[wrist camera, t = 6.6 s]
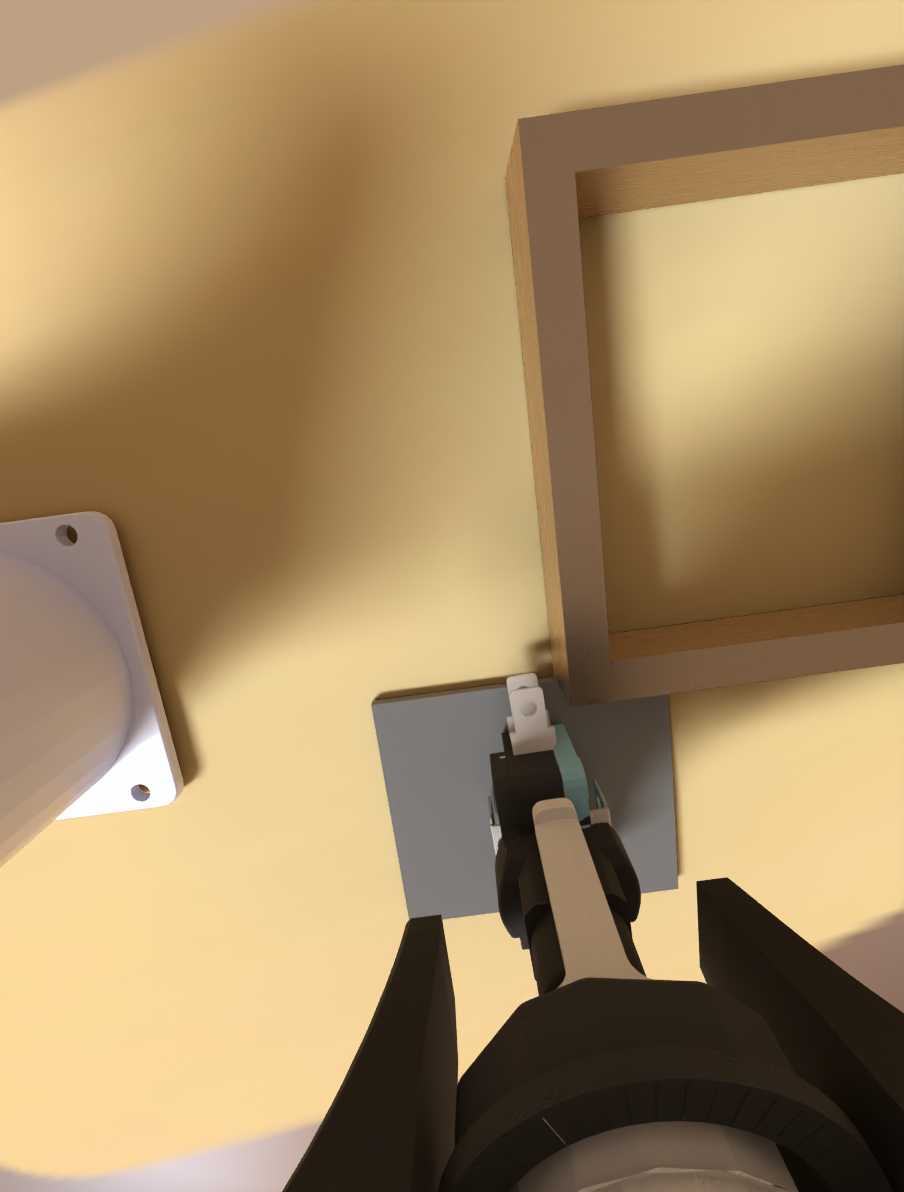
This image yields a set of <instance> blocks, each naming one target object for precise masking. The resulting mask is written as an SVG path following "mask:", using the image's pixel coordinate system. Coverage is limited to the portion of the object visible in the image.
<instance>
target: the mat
mask: <svg viewBox="0 0 904 1192" xmlns="http://www.w3.org/2000/svg"><path fill="white" fill-rule="evenodd" d="M538 686H539V687H541V688H542V690H543V696H544V703H545V709H546V710H548V713H549V719H550V725H554V724H561V723H563V724H564V726H565V729H566V731H567V733H568V736H569V738H570V740H571V743H572V745H573V747H574V750H575V752H576V754H577V757H579V758H580V760H581V762H582V765H583V768H584V771H585V775H586V780H587V786H588V793H589V798H588V804H589V810H596V809H597V808H596V803H595V795H594V788H593V780H597V782H598V784H599V787H600V789H601V791H602V793H603V795H604V797H605V800H606V802H607V806H609V811H610V819H611V826H612V828H613V829H614V830H615V831H616V833H617V834H618V836H619V837H620V839H621V841H622V843H623V846H624V848H625V850H626V852H627V854H628V857H629V859H630V861H631V863H632V865H633V868H634V870H635V872H636V875H637V877H638V880H639V885H640V890H641V893H648V892H656V891H664V890H671V889H678V871H677V850H676V830H675V809H674V789H673V768H672V748H671V727H670V706H669V694H665V695H657V696H650V697H642V698H635V699H627V700H620V701H612V702H604V703H597V704H589V705H582V706H574V707H571V705H570V703H569V702H568V700H567V698H566V697H565V695H564V693H563V691H562V690H561V688H560V686H559V685H558V683H557V681H556V679H555V678H554V677H546V678H539V679H538ZM522 688H528V687H527V686H521V687H519V688H518V689H522ZM371 706H372V712H373V717H374V723H375V729H376V734H377V740H378V745H379V751H380V757H381V762H382V768H383V774H384V779H385V785H386V791H387V796H388V802H389V807H390V813H391V819H392V824H393V830H394V836H395V841H396V847H397V853H398V858H399V864H400V870H401V875H402V881H403V886H404V892H405V898H406V903H407V909H408V915H409V920H410V919H411V918H417V917H425V916H433V915H440V914H441V916H442V919H449V918H457V917H464V916H472V915H480V914H487V913H495V912H499V907H498V896H497V886H496V875H495V858H496V853H495V848H494V843H493V837H492V832H491V826H490V824H491V823H490V817H489V806H488V796H491V801H492V806H493V812H494V817H495V823H496V824H500V823H499V817H498V812H497V806H496V801H495V795H494V789H493V782H492V774H491V765H490V756H489V755H490V754H492V753H498V752H504V747H503V741H502V735H501V733H505V732H509V729H508V723H507V717H506V716H512V712H511V706H510V700H509V694H508V688H507V683H501V684H494V685H486V686H479V687H471V688H464V689H456V690H449V691H441V692H434V693H426V694H419V695H411V696H404V697H396V698H389V699H381V700H374V701H372V705H371Z"/></svg>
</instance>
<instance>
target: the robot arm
mask: <svg viewBox="0 0 904 1192" xmlns="http://www.w3.org/2000/svg"><path fill="white" fill-rule="evenodd" d="M69 525H70V526H71V527H73V528H74V529H75V531H76V532H77V539H78V540H77V541H76V543H75V544H74V543H73V542H71V541H70V540H69V538H68V537H67V528H68V527H69ZM139 784H143V785H145V786H146V787H148V788H149V790H150V793H145V792H144V791H142V790H141V789H140V787H139ZM183 787H184V786H183V778H182V774H181V771H180V767H179V763H178V759H177V756H176V752H175V748H174V744H173V741H172V737H171V733H170V729H169V726H168V722H167V718H166V714H165V711H164V707H163V703H162V699H161V696H160V692H159V688H158V685H157V681H156V677H155V673H154V670H153V666H152V662H151V658H150V655H149V651H148V647H147V643H146V640H145V636H144V632H143V628H142V625H141V621H140V617H139V613H138V610H137V606H136V602H135V598H134V595H133V591H132V587H131V584H130V580H129V576H128V572H127V569H126V565H125V561H124V557H123V554H122V550H121V546H120V542H119V539H118V535H117V531H116V528H115V526H114V524H113V522H112V520H111V519H110V518H109V517H108V516H107V515H105V514H103V513H100V512H96V511H86V512H77V513H70V514H63V515H55V516H48V517H41V518H33V519H26V520H19V521H11V522H4V523H0V867H1V866H3V865H4V864H5V863H6V862H7V861H8V860H9V859H11V858H12V857H13V856H14V855H15V854H16V853H17V852H19V851H20V850H21V849H22V848H23V847H24V846H25V845H27V844H28V843H29V842H30V841H31V840H32V839H33V838H34V837H36V836H37V835H38V834H39V833H40V832H41V831H42V830H44V829H45V828H46V827H47V826H48V825H49V824H50V823H52V822H53V821H54V820H61V819H69V818H76V817H84V816H91V815H99V814H106V813H114V812H121V811H129V810H137V809H144V808H152V807H159V806H165V805H168V804H171V803H172V802H173V801H175V800H176V799H177V797H178V796H179V795H180V794H181V792H182V790H183ZM697 906H698V931H699V955H700V968H701V970H702V973H703V975H704V978H705V980H706V982H707V985H709V986H711V987H713V988H715V989H716V990H718V991H720V992H722V993H724V994H725V995H727V996H729V997H731V998H733V999H735V1000H736V1001H738V1002H740V1003H742V1004H744V1005H745V1006H747V1007H749V1008H751V1009H753V1010H754V1011H756V1012H757V1013H759V1014H760V1015H761V1016H762V1017H763V1018H764V1020H765V1021H766V1023H767V1025H768V1026H769V1028H770V1030H771V1032H772V1033H773V1035H774V1037H775V1039H776V1040H777V1042H778V1044H779V1046H780V1048H781V1049H782V1051H783V1053H784V1055H785V1056H786V1058H787V1060H788V1062H789V1063H790V1065H791V1067H792V1069H793V1070H794V1072H795V1074H796V1076H798V1077H800V1078H802V1079H803V1080H805V1081H806V1082H808V1083H809V1084H811V1085H812V1086H814V1087H816V1088H817V1089H819V1090H820V1091H821V1092H822V1093H823V1094H825V1095H826V1096H827V1097H828V1098H830V1099H831V1100H832V1101H833V1102H834V1103H835V1104H836V1105H837V1106H838V1107H839V1108H840V1109H841V1110H842V1111H843V1112H844V1113H845V1114H846V1115H847V1116H848V1117H849V1119H850V1120H851V1122H852V1123H853V1124H854V1126H855V1127H856V1128H857V1130H858V1131H859V1133H860V1134H861V1136H862V1138H863V1139H864V1141H865V1142H866V1144H867V1146H868V1147H869V1149H870V1151H871V1152H872V1154H873V1155H874V1157H875V1159H876V1160H877V1162H878V1164H879V1165H880V1167H881V1168H882V1170H883V1172H884V1174H885V1176H886V1178H887V1180H888V1182H889V1184H890V1185H891V1188H892V1191H893V1192H904V1013H902V1012H901V1011H900V1010H898V1009H897V1008H895V1007H894V1006H893V1005H891V1004H890V1003H888V1002H887V1001H885V1000H884V999H883V998H881V997H880V996H878V995H877V994H876V993H874V992H872V991H871V990H870V989H868V988H867V987H865V986H864V985H863V984H862V983H860V982H859V981H858V980H856V979H855V978H854V977H852V976H851V975H850V974H848V973H847V972H846V971H844V970H843V969H842V968H840V967H839V966H838V965H837V964H835V963H834V962H833V961H831V960H830V959H829V958H827V957H826V956H825V955H823V954H822V953H821V952H820V951H818V950H817V949H816V948H814V947H813V946H812V945H810V944H809V943H808V942H807V941H805V940H804V939H803V938H802V937H800V936H799V935H798V934H797V933H795V932H794V931H793V930H792V929H790V928H789V927H788V926H787V925H785V924H784V923H783V922H782V921H780V920H779V919H778V918H777V917H775V916H774V915H773V914H772V913H771V912H769V911H768V910H767V909H766V908H764V907H763V906H762V905H761V904H760V903H758V902H757V901H756V900H755V899H753V898H752V897H751V896H750V895H748V894H747V893H746V892H745V891H744V890H742V889H741V888H740V887H739V886H737V885H736V884H735V883H734V882H732V881H731V880H730V879H729V878H719V879H711V880H704V881H697ZM457 1082H458V1051H457V1030H456V1012H455V997H454V991H453V984H452V978H451V972H450V966H449V960H448V953H447V947H446V941H445V935H444V929H443V922H442V916H441V914H440V915H433V916H425V917H417V918H411V919H410V920H409V921H408V922H407V924H406V926H405V930H404V934H403V937H402V940H401V944H400V947H399V950H398V953H397V956H396V959H395V962H394V965H393V967H392V970H391V973H390V975H389V978H388V981H387V983H386V986H385V989H384V991H383V993H382V996H381V998H380V1001H379V1003H378V1006H377V1008H376V1011H375V1013H374V1015H373V1018H372V1020H371V1023H370V1025H369V1027H368V1030H367V1032H366V1034H365V1036H364V1039H363V1041H362V1043H361V1045H360V1047H359V1049H358V1051H357V1053H356V1056H355V1058H354V1060H353V1062H352V1064H351V1066H350V1068H349V1070H348V1073H347V1075H346V1077H345V1079H344V1081H343V1083H342V1085H341V1087H340V1089H339V1091H338V1093H337V1095H336V1097H335V1099H334V1101H333V1103H332V1105H331V1107H330V1109H329V1110H328V1112H327V1114H326V1116H325V1118H324V1120H323V1122H322V1124H321V1125H320V1127H319V1129H318V1131H317V1133H316V1134H315V1136H314V1138H313V1140H312V1142H311V1143H310V1145H309V1147H308V1149H307V1151H306V1153H305V1154H304V1156H303V1158H302V1159H301V1161H300V1163H299V1164H298V1166H297V1168H296V1170H295V1171H294V1173H293V1174H292V1176H291V1178H290V1179H289V1181H288V1183H287V1184H286V1186H285V1188H284V1190H283V1191H282V1192H437V1191H438V1187H439V1183H440V1179H441V1177H442V1174H443V1171H444V1169H445V1166H446V1164H447V1162H448V1160H449V1158H450V1156H451V1154H452V1152H453V1151H454V1149H455V1117H456V1094H457Z"/></svg>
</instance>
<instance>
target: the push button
mask: <svg viewBox="0 0 904 1192" xmlns="http://www.w3.org/2000/svg"><path fill="white" fill-rule="evenodd" d="M506 682H507V688H508V694H509V700H510V706H511V712H512V716H506V717H507V723H508V729H509V732H505V733H501V735H502V741H503V747H504V752H498V753H492V754H490V755H489V756H490V765H491V774H492V782H493V789H494V795H495V801H496V806H497V812H498V817H499V823H500V824H496V823H495V817H494V812H493V806H492V801H491V796H488V806H489V817H490V823H491V824H490V826H491V832H492V837H493V843H494V848H495V853H496V858H495V875H496V886H497V896H498V907H499V912H500V916H501V919H502V921H503V924H504V926H505V927H506V929H507V931H508V933H509V934H510V935H511V937H513V938H519V937H520V940H521V946H522V949H523V950H524V949H530V955H531V961H532V966H533V972H534V978H535V980H536V981H537V987H538V993H539V996H538V997H535V998H533V999H531V1000H528V1001H526V1002H524V1003H522V1004H521V1005H520V1006H519V1007H518V1008H517V1009H516V1010H515V1011H514V1013H513V1014H512V1015H511V1016H510V1018H509V1019H508V1020H507V1021H506V1023H505V1024H504V1025H503V1026H502V1028H501V1029H500V1030H499V1031H498V1032H497V1034H496V1035H495V1036H494V1037H493V1039H492V1040H491V1041H490V1042H489V1044H488V1045H487V1046H486V1047H485V1049H484V1050H483V1051H482V1052H481V1053H480V1055H479V1056H478V1057H477V1058H476V1060H475V1061H474V1062H473V1063H472V1065H471V1066H470V1067H469V1068H468V1069H467V1071H466V1072H465V1073H464V1074H463V1076H462V1077H461V1079H460V1081H459V1083H458V1086H457V1094H456V1117H455V1149H454V1151H453V1152H452V1154H451V1156H450V1158H449V1160H448V1162H447V1164H446V1166H445V1169H444V1171H443V1174H442V1177H441V1179H440V1183H439V1187H438V1191H437V1192H893V1191H892V1188H891V1185H890V1184H889V1182H888V1180H887V1178H886V1176H885V1174H884V1172H883V1170H882V1168H881V1167H880V1165H879V1164H878V1162H877V1160H876V1159H875V1157H874V1155H873V1154H872V1152H871V1151H870V1149H869V1147H868V1146H867V1144H866V1142H865V1141H864V1139H863V1138H862V1136H861V1134H860V1133H859V1131H858V1130H857V1128H856V1127H855V1126H854V1124H853V1123H852V1122H851V1120H850V1119H849V1117H848V1116H847V1115H846V1114H845V1113H844V1112H843V1111H842V1110H841V1109H840V1108H839V1107H838V1106H837V1105H836V1104H835V1103H834V1102H833V1101H832V1100H831V1099H830V1098H828V1097H827V1096H826V1095H825V1094H823V1093H822V1092H821V1091H820V1090H819V1089H817V1088H816V1087H814V1086H812V1085H811V1084H809V1083H808V1082H806V1081H805V1080H803V1079H802V1078H800V1077H798V1076H796V1074H795V1072H794V1070H793V1069H792V1067H791V1065H790V1063H789V1062H788V1060H787V1058H786V1056H785V1055H784V1053H783V1051H782V1049H781V1048H780V1046H779V1044H778V1042H777V1040H776V1039H775V1037H774V1035H773V1033H772V1032H771V1030H770V1028H769V1026H768V1025H767V1023H766V1021H765V1020H764V1018H763V1017H762V1016H761V1015H760V1014H759V1013H757V1012H756V1011H754V1010H753V1009H751V1008H749V1007H747V1006H745V1005H744V1004H742V1003H740V1002H738V1001H736V1000H735V999H733V998H731V997H729V996H727V995H725V994H724V993H722V992H720V991H718V990H716V989H715V988H713V987H711V986H709V985H707V984H706V983H702V982H698V981H672V980H652V979H649V978H647V977H646V974H645V972H644V969H643V966H642V964H641V961H640V958H639V956H638V953H637V951H636V948H635V945H634V943H633V940H632V932H631V924H630V922H634V921H635V920H636V919H637V916H638V913H639V908H640V904H641V890H640V885H639V880H638V877H637V875H636V872H635V870H634V868H633V865H632V863H631V861H630V859H629V857H628V854H627V852H626V850H625V848H624V846H623V843H622V841H621V839H620V837H619V836H618V834H617V833H616V831H615V830H614V829H613V828H612V826H611V819H610V811H609V806H607V802H606V800H605V797H604V795H603V793H602V791H601V789H600V787H599V784H598V782H597V780H593V788H594V795H595V803H596V808H597V809H596V810H589V804H588V798H589V793H588V786H587V780H586V775H585V771H584V768H583V765H582V762H581V760H580V758H579V757H577V754H576V752H575V750H574V747H573V745H572V743H571V740H570V738H569V736H568V733H567V731H566V729H565V726H564V724H563V723H561V724H554V725H550V719H549V713H548V710H546V709H545V703H544V696H543V690H542V688H541V687H539V686H538V679H537V675H536V674H535V673H533V672H532V673H525V674H519V675H513V676H509V677H508V678H507V679H506ZM521 686H527V687H528V688H522V689H518V688H519V687H521Z"/></svg>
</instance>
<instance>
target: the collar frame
mask: <svg viewBox="0 0 904 1192" xmlns="http://www.w3.org/2000/svg"><path fill="white" fill-rule="evenodd" d="M899 173H904V65H899V66H892V67H885V68H878V69H871V70H864V71H856V72H849V73H842V74H835V75H828V76H821V77H814V78H807V79H800V80H793V81H785V82H778V83H771V84H764V85H757V86H750V87H743V88H736V89H729V90H721V91H714V92H707V93H700V94H693V95H686V96H679V97H672V98H665V99H657V100H650V101H643V102H636V103H629V104H622V105H615V106H608V107H601V108H594V109H586V110H579V111H572V112H565V113H558V114H551V115H544V116H537V117H530V118H522V119H518V122H517V126H516V131H515V136H514V140H513V145H512V149H511V154H510V159H509V163H508V168H507V173H506V177H505V180H506V190H507V200H508V211H509V221H510V231H511V241H512V252H513V262H514V272H515V283H516V293H517V303H518V313H519V324H520V334H521V344H522V354H523V365H524V375H525V385H526V396H527V406H528V416H529V426H530V437H531V447H532V457H533V467H534V478H535V488H536V498H537V509H538V519H539V529H540V539H541V550H542V560H543V570H544V580H545V591H546V601H547V611H548V622H549V632H550V642H551V652H552V663H553V673H554V678H555V679H556V681H557V683H558V685H559V686H560V688H561V690H562V691H563V693H564V695H565V697H566V698H567V700H568V702H569V703H570V705H571V707H574V706H582V705H589V704H597V703H604V702H612V701H620V700H627V699H635V698H642V697H650V696H657V695H665V694H672V693H680V692H687V691H695V690H702V689H710V688H717V687H725V686H732V685H740V684H747V683H755V682H762V681H770V680H777V679H785V678H793V677H800V676H808V675H815V674H823V673H830V672H838V671H845V670H853V669H860V668H868V667H875V666H883V665H890V664H898V663H904V595H896V596H889V597H881V598H874V599H866V600H859V601H851V602H844V603H836V604H829V605H821V606H814V607H806V608H799V609H791V610H784V611H777V612H769V613H762V614H754V615H747V616H739V617H732V618H724V619H717V620H709V621H702V622H694V623H687V624H679V625H672V626H664V627H657V628H650V629H642V630H635V631H627V632H620V633H612V634H609V633H608V619H607V605H606V591H605V578H604V564H603V550H602V536H601V523H600V509H599V495H598V481H597V468H596V454H595V440H594V426H593V413H592V399H591V385H590V371H589V358H588V344H587V330H586V316H585V302H584V289H583V275H582V261H581V247H580V234H579V220H578V218H583V217H590V216H597V215H604V214H612V213H619V212H626V211H633V210H640V209H648V208H655V207H662V206H669V205H676V204H683V203H691V202H698V201H705V200H712V199H719V198H727V197H734V196H741V195H748V194H755V193H762V192H770V191H777V190H784V189H791V188H798V187H805V186H813V185H820V184H827V183H834V182H841V181H849V180H856V179H863V178H870V177H877V176H884V175H892V174H899Z"/></svg>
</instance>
